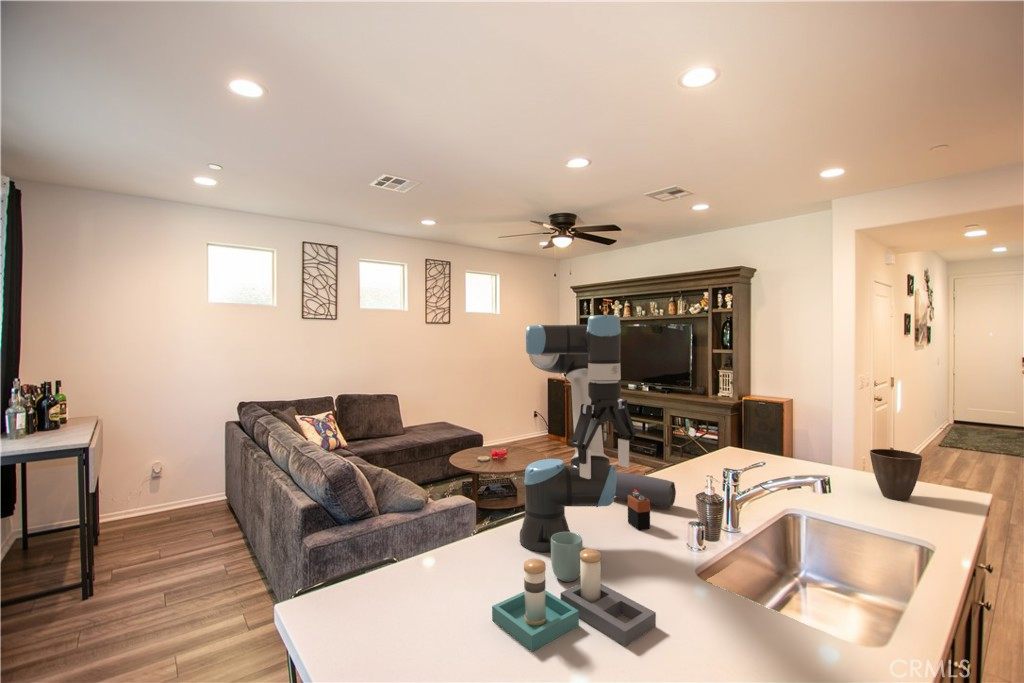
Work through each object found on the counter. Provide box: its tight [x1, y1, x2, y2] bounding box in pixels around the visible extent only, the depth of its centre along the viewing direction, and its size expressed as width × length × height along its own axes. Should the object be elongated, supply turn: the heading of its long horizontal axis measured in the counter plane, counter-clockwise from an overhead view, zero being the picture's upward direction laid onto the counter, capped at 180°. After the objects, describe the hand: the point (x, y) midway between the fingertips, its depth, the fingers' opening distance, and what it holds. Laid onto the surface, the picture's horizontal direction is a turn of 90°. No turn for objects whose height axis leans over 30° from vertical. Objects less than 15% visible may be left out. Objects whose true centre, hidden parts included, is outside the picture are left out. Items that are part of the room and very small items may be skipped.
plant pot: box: [869, 448, 923, 502], centre depth 173 cm, size 15×15×16 cm
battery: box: [627, 492, 651, 531], centre depth 151 cm, size 4×7×10 cm, turn 16°
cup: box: [550, 531, 584, 583], centre depth 120 cm, size 8×8×10 cm
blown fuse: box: [523, 558, 547, 627], centre depth 101 cm, size 5×5×12 cm
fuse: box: [580, 548, 602, 604], centre depth 107 cm, size 5×5×12 cm
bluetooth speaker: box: [615, 471, 677, 507], centre depth 171 cm, size 23×9×10 cm, turn 55°
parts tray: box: [491, 589, 580, 652], centre depth 101 cm, size 13×13×3 cm
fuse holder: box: [560, 582, 657, 648], centre depth 103 cm, size 18×10×3 cm, turn 38°
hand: (605, 471), depth 112 cm, fingers open, 13 cm apart
